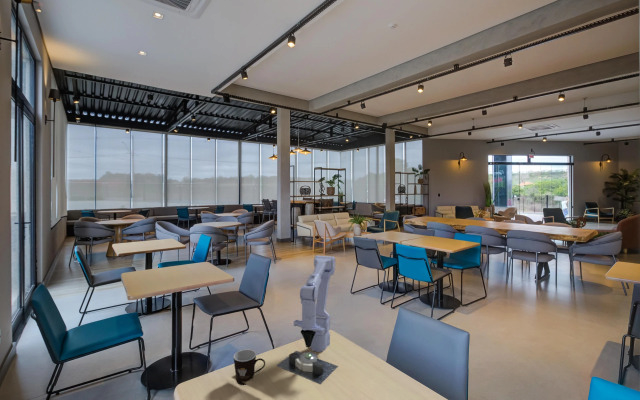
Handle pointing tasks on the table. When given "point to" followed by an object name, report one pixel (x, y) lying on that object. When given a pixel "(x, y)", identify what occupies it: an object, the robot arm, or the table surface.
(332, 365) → the plate
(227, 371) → the table surface
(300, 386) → the table surface
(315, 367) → the knob
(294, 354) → the knob
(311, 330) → the robot arm
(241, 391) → the table surface
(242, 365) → the coffee mug
